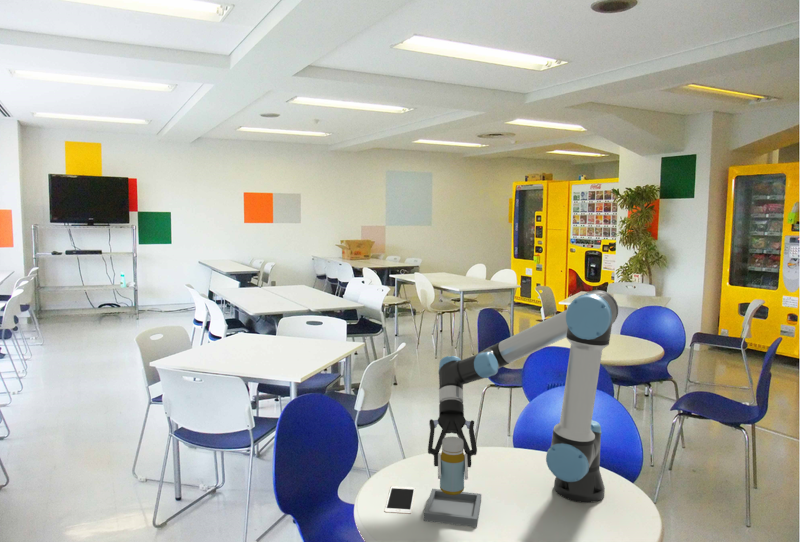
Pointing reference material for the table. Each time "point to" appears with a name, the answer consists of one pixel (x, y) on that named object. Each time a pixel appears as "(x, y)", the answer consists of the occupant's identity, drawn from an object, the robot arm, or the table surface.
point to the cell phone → (400, 500)
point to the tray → (453, 508)
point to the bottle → (452, 466)
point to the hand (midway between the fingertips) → (452, 477)
